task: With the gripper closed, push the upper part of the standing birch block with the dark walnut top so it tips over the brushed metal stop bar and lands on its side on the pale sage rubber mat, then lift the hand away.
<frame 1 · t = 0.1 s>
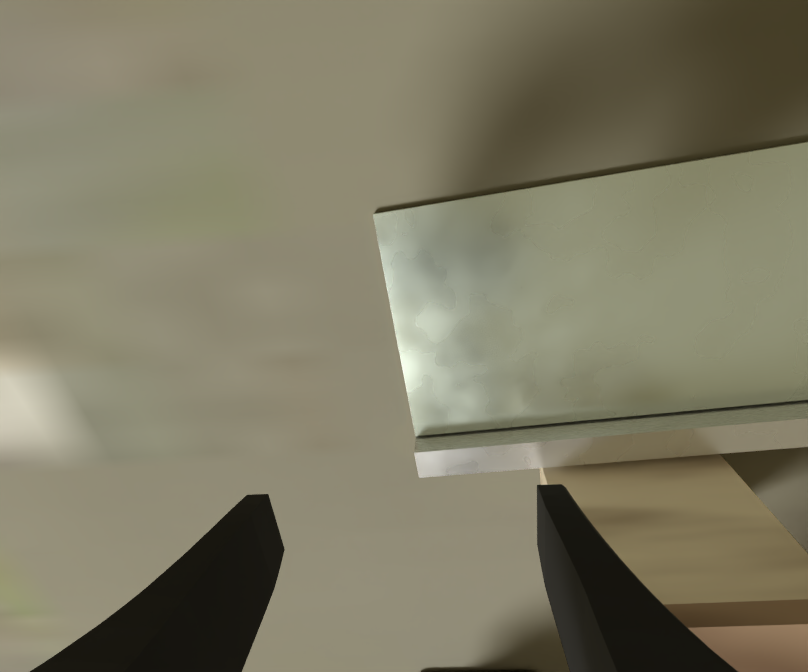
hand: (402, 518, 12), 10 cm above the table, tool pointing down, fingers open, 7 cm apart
tipping stop: (624, 318, 20), on the table
wooden block: (620, 487, 23), on the table
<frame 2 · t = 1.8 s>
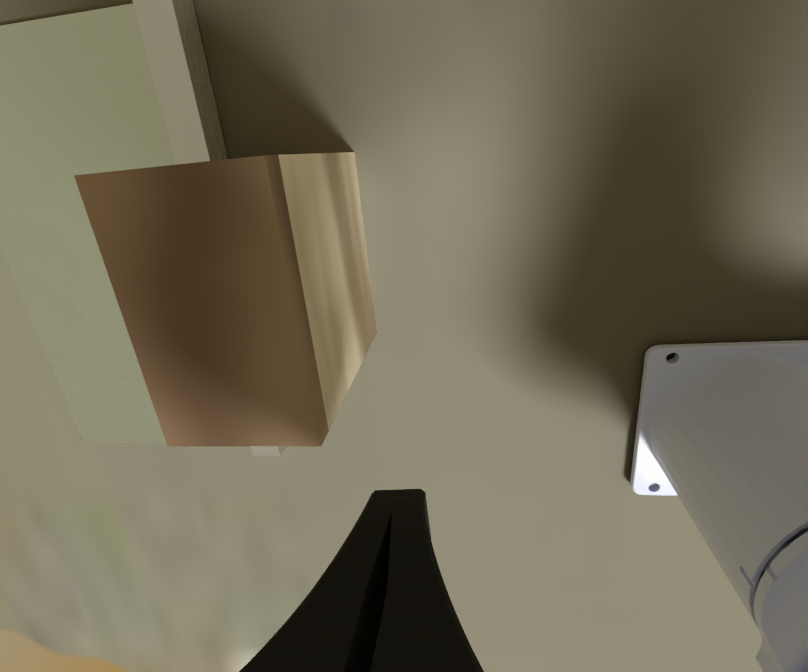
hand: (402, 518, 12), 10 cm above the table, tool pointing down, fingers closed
tipping stop: (124, 265, 22), on the table
wooden block: (312, 252, 20), on the table
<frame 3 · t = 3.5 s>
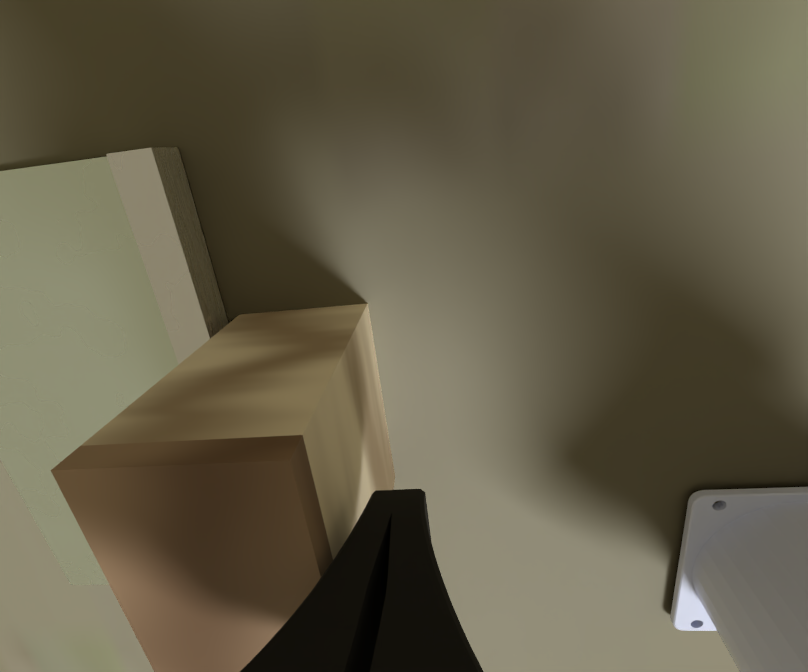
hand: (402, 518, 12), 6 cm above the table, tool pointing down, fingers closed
tipping stop: (110, 414, 20), on the table
wooden block: (322, 400, 18), on the table, touching gripper
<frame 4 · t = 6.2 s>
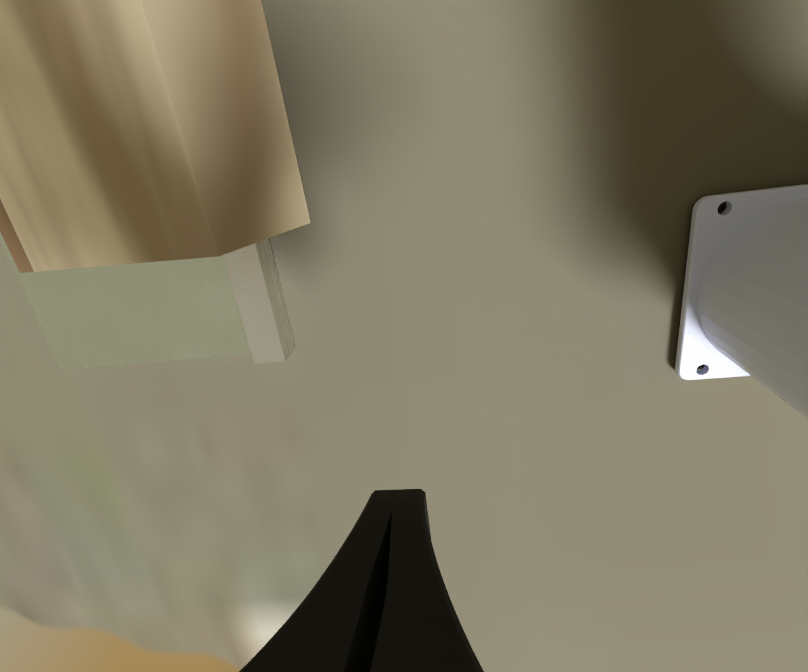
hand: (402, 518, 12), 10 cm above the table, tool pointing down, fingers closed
tipping stop: (95, 145, 19), on the table
wooden block: (236, 101, 13), point 5 cm above the table, tilted 105°, touching tipping stop
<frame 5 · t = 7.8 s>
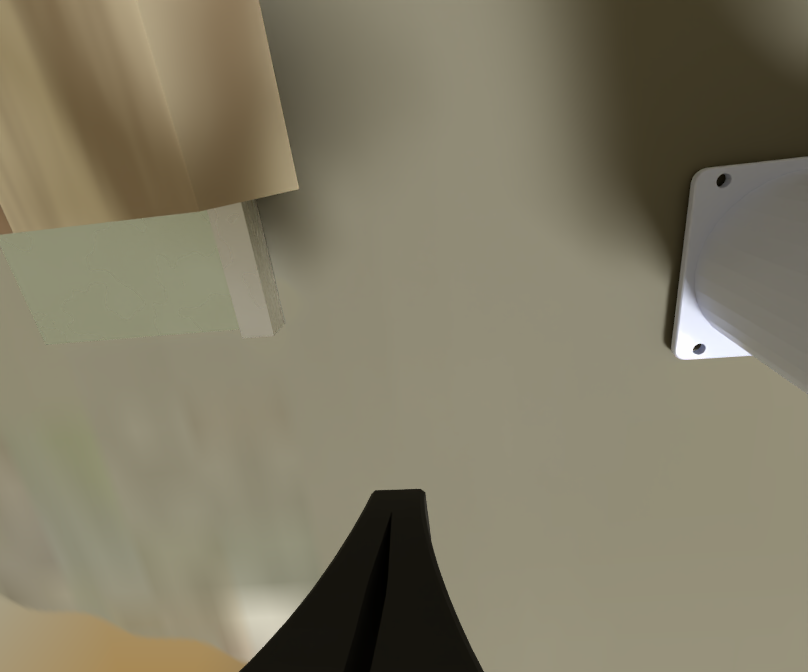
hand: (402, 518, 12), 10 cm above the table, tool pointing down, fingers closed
tipping stop: (81, 110, 19), on the table
wooden block: (220, 53, 13), point 5 cm above the table, tilted 105°, touching tipping stop
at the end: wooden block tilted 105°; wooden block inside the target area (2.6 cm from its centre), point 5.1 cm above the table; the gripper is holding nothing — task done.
